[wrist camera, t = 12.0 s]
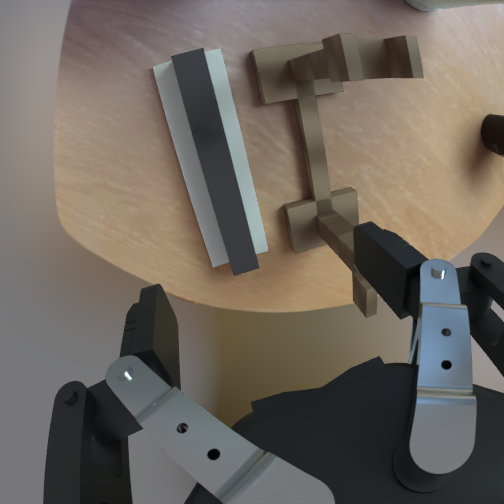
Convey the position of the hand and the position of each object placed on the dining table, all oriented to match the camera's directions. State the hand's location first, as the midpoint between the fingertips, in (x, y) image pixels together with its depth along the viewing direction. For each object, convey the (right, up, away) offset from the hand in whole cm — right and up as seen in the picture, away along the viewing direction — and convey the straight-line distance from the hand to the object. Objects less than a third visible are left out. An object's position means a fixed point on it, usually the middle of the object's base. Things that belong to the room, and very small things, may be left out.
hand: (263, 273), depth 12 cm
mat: (-5, +10, +20) cm, 23 cm away
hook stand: (+6, +13, +21) cm, 25 cm away
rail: (-4, +10, +19) cm, 22 cm away
